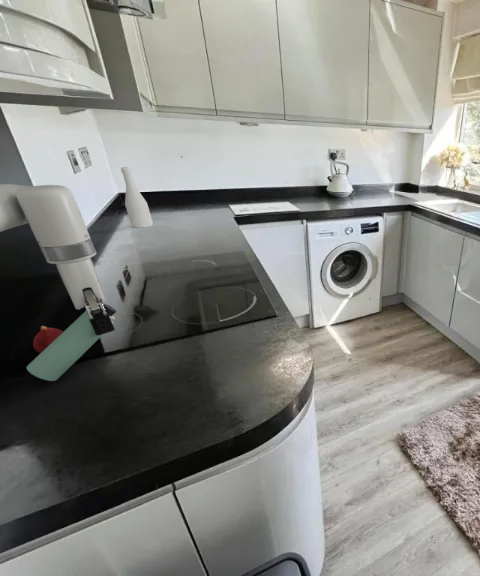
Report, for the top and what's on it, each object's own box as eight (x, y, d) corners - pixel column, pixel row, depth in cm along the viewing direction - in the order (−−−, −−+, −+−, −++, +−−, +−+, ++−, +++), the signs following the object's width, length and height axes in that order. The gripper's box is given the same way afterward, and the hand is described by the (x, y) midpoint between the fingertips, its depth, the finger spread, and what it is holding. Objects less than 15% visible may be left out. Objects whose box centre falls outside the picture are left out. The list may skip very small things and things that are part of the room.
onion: (79, 345, 80) (66, 317, 76) (67, 360, 75) (52, 331, 71) (50, 349, 78) (35, 321, 74) (35, 364, 73) (18, 335, 69)
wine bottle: (149, 227, 172) (131, 168, 159) (129, 228, 170) (109, 168, 157) (156, 223, 181) (139, 166, 167) (137, 224, 179) (118, 166, 165)
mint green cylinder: (58, 384, 68) (26, 374, 64) (56, 371, 71) (26, 361, 67) (125, 318, 72) (99, 305, 68) (120, 309, 76) (95, 296, 72)
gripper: (41, 244, 67) (76, 318, 75) (46, 267, 57) (87, 350, 64) (87, 237, 72) (116, 307, 80) (100, 256, 61) (132, 335, 69)
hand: (102, 326), depth 72 cm, fingers closed on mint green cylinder, 5 cm apart
